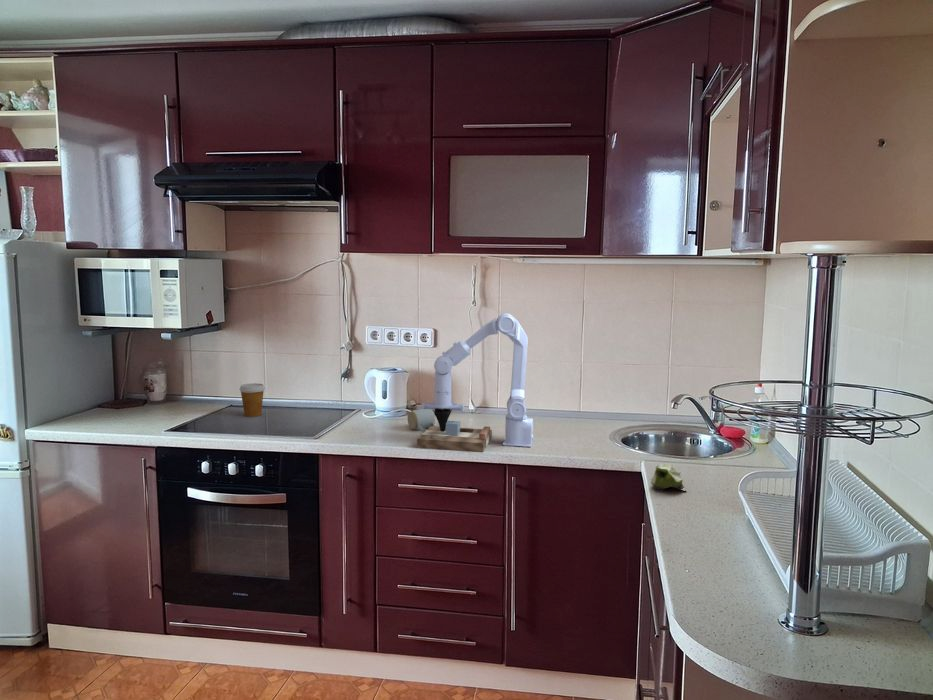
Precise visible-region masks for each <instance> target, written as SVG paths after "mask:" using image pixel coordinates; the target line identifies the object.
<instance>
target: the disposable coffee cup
mask: <svg viewBox="0 0 933 700" xmlns="http://www.w3.org/2000/svg"><path fill="white" fill-rule="evenodd" d="M265 388H266V387H265V385H264V384H263V383H256V382H255V383H252V382H251V383H245V384H241V385H240V388H239V392H240V394H241V402H242V407H243V412H244V413H243V414H244V416H245V417H249V418H253V417H259V416H261V415H262V411H263V400H264V391H265Z"/></svg>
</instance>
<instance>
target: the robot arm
mask: <svg viewBox="0 0 933 700" xmlns="http://www.w3.org/2000/svg"><path fill="white" fill-rule="evenodd" d="M499 332H500V333H501V334H502V335H504V336H506V337H508V338H509V339H510V340H511V341H512V342H513V355H512V368H511V383H510V384H511V385H510V393H509V394H510V395H509V398H508V399H507V401H506V409H507V414H506V415H505V434H504V435H505V436H504V437H505V438H504V440H503V443H502V446H510V447H527V448H530V447H532V446H533V442H534V419H533V418H532V417H531V418H530V417H528V416H527V406H526V401H525V388H526V387H525V385H526V373H527V362H528V361H527V359H528V345H529V344H528V343H529V338H528V335H527V333H526V332H525V330H524V329H523V327H522V326H521V324H520V322H519V321H518V319H517V318H516V317H514V316H513V315H512V314H510V313H508V312H504V313H501V314H499V316H498V317H495V318H492V319H491V320H489V322H487V323H485V324H484V325H483V326H482V327H481V328H479V329H478V330H477V331H476V332H475V333H473V335H471V336H470V337H468V339H466V340H464V341H463V340H459V341H455V342H453V343H452V345H453V346H451V347H450V348H449V349H447V350H446V351H442V353H441V355H439V356H438V357H437V358H436V359H435V361H434V364H433V368H434V370H435V372H434V402H422V403H421V409H432V410H434V411H433V412H434V415H435V419H436V420H437V422H438V427H440V431H442V432H444V431H445V429H446V423H447V422H448V421H449V418H450V416H451V413H452V411H454V412H455V411H456V412H457V411H458V412H465V404H459V403H453V402H452V391H453V390H452V383H453V382H452V371H451V370H452V369H453V367H456V366H457V365H458V364H460V363H461V362H462V361H464V360H465V359H466V358H467V357H468V356H470V355H471V349H473V348H474V347H475V346H476V345H478V344H479V343H481V342H482V341H484V340H485V339H486V338H487V337H489V336H491V335H499Z"/></svg>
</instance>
